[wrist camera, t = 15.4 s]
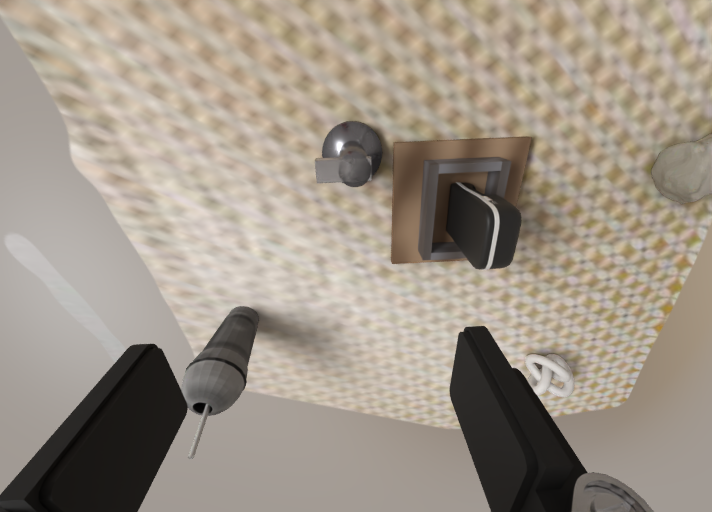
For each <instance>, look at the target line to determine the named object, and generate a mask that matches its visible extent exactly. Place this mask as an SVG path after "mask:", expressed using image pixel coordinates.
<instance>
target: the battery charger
mask: <svg viewBox="0 0 712 512" xmlns="http://www.w3.org/2000/svg"><path fill="white" fill-rule="evenodd" d="M520 226H521V213H520V212H519V210H518V209H517V208H516V207H515V206H514V205H513V204H511V203H510V202H509V201H507V200H506V199H504V198H502V197H501V196H498V195H484V194H483V193H481V192H479V191H477V190H476V188H475V186H474V185H472V184H470V183H465V182H463V183H460V182H456V183H452V184H451V186H450V194H449V204H448V213H447V224H446V231H447V233H448V234H449V235H450V236H451V238H452V239H453V240H454V242H455V243H456V244H457V246H458V247H459V249H460V250H461V252H462V253H463V254H464V256H465V257H466V258H467V259H468V261H469V262H470V263H471V264H472V265H473V267H475V268H476V269H481V270H488V269H496V268H505V267H507V266H508V265H510V263H511V262H512V260H513V257H514V253H515V249H516V244H517V240H518V236H519V231H520Z"/></svg>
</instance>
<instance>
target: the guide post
mask: <svg viewBox="0 0 712 512" xmlns="http://www.w3.org/2000/svg"><path fill="white" fill-rule="evenodd" d="M322 157H323V158H316V159H315V168H316V178H317V183H335V182H342V183H345V184H346V185H348V186H351V187H359V186H362V185H363V184H365V183H366V182H367V181H372V178H371V177H372V176H373V175H374V174H375V172H376V171H377V169H378V168H379V166H380V163H381V159H382V147H381V143H380V140H379V138H378V136H377V135H376V133H375V132H374V131H373V130H372V129H371V128H370V127H368V126H367V125H365V124H363V123H361V122H357V121H347V122H343V123H341V124H339V125H337V126H335V127H334V128H333V129H332V130H331V131H330V132H329V134H328V135H327V137H326V139H325V141H324V144H323V149H322Z"/></svg>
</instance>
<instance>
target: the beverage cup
mask: <svg viewBox="0 0 712 512" xmlns="http://www.w3.org/2000/svg"><path fill="white" fill-rule="evenodd" d="M258 321H259V318H258V315H257V313H256V312H255V311H254V310H252V309H251V308H248V307H241V306H240V307H236V308H234V309H232V311H231V312H230V314H229V315H228V316H227V317H226V318H225V320H224V321H223V322H222V324H221V325H220V327H219V328H218V330H217V331H216V332H215V334H214V335H213V337H212V338H211V340H210V341H209V342H208V344H207V345H206V347H205V348H204V350H203V351H202V352H201V353H200V354H199V355H198V356H197V357H196V358H195V359H194V361H193V362H192V363H190V365H189V366H188V367H187V368H186V372H185V375H184V378H183V382H182V389H181V391H182V393H183V395H184V398H185V400H186V402H187V406H188V408H189V409H190V410H191V411H192V412H194V413H196V414H198V415H202V419H201V421H200V424H199V427H198V430H197V433H196V436H195V439H194V441H193V444H192V447H191V450H190V453H189V456H188V458H189V459H193V458H194V455H195V452H196V449H197V446H198V443H199V440H200V437H201V434H202V431H203V428H204V425H205V422H206V419H207V416H210V415H216V414H219V413H221V412H223V411H225V410H227V409H228V408H229V407H231V406H232V405H233V404H234V403H235V401H236V400H237V399H238V398H239V396H240V395H241V393H242V391H243V390H244V388H245V386H246V383H247V381H246V378H247V371H248V368H247V366H248V362H249V358H250V354H251V350H252V347H253V343H254V339H255V335H256V331H257V325H258Z"/></svg>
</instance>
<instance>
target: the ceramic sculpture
mask: <svg viewBox="0 0 712 512" xmlns="http://www.w3.org/2000/svg"><path fill="white" fill-rule="evenodd" d="M651 174H652V178H653V180H654V182H655V186H656V188H657V189H658V190H659V191H660V193H661V194H662V195H664V196H665V197H667V198H669V199H671V200H674V201H677V202H679V203H681V204H684V203H687V202H694V201H697V200H699V199H701V198H703V197H704V196H705V195H708V194H712V133H711V134H709V135H707V136H706V137H704V138H702V139H700V140H698V141H695V142H687V143H679V144H675V145H673V146H671V147H668V148H666V149H664V150H663V151H662V152H660V154H659V155H658V158H657V160H656V162H655V164H654V166H653V167H652V170H651Z"/></svg>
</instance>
